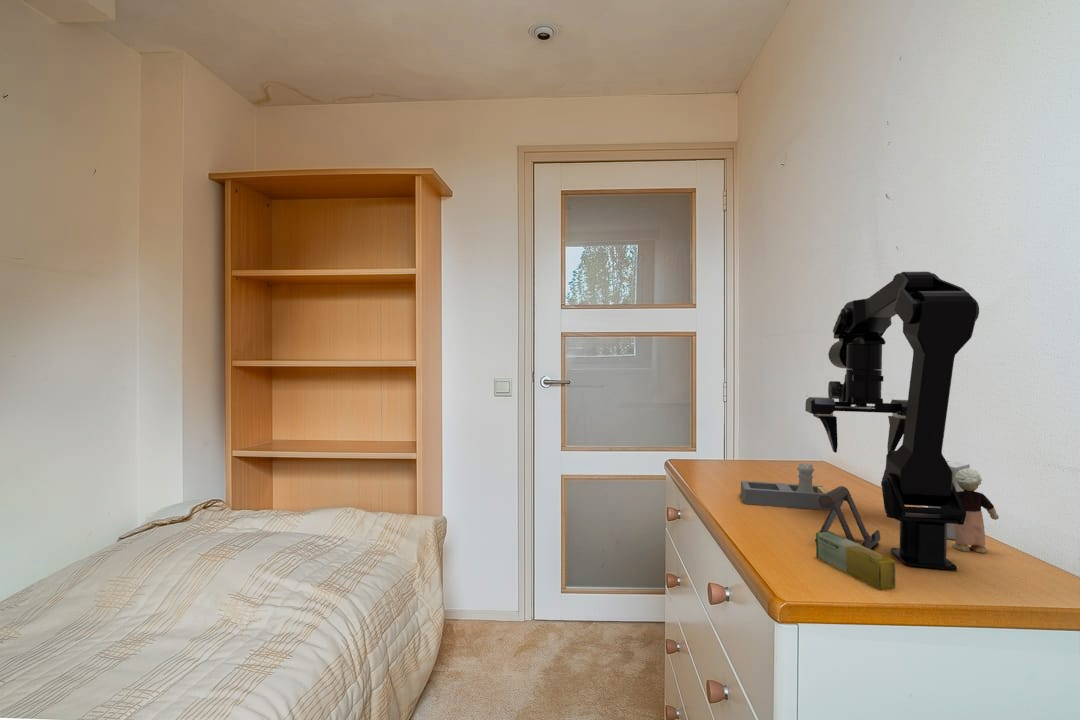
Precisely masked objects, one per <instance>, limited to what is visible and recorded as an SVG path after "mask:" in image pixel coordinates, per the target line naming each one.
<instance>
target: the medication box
mask: <svg viewBox="0 0 1080 720" xmlns="http://www.w3.org/2000/svg"><path fill="white" fill-rule="evenodd" d="M815 533H816V534H815V539H816V541H815V544H816V545H815V548H816V552H815V553H816V558H817V559H819V560H820V561H823V562H825V563H827V564H829V565H831V566H833V567H834V568H836V569H838V570H840V571H843V573H846V574H847V575H850V576H852V577H854V578H856V579H858V580H859V581H862V582H864V583H866V584H868V585H870V586H872V587H873V588H875V589H877V590H880V591H886V590H892V589H893V590H894V589H896V560H895V559H893V558H891V557H889V556H887V555H884V554H882V553H879V552H877V551H875V550H873V549H872V548H871V549H868V548H866V547H864V546H862V545H859V544H860V543H855V542H856V541H855V542H853V541H850V540H848V539H847V537H843V536H841V535H838V534H836V533H835V532H833V531H830V530H828V531H825V532H820V531H819V532H818V531H817V532H815Z"/></svg>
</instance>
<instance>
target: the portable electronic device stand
mask: <svg viewBox="0 0 1080 720" xmlns="http://www.w3.org/2000/svg"><path fill="white" fill-rule="evenodd" d="M844 502H847V504H848V506H849V508H850V511H851V513H852V516H853V518H854V520H855V523H856V524H857V527H858V529H859V531H860V534H861V536H862V538H863V540H862V541H861V542H860V543H857V541H856V540H855V538H854V536H853V534H852V531H851V529H850V527H849V525H848V522H847V520H846V518H845V514H844V513H843V511H842V510H843V509H842V508H841V507H842V506H843V503H844ZM819 504H820V506H821V507H822V508H825V509H830V510H829V513H828V514H827V517H826V518H825V520H824V523H823V525H822V526H821V529H820V530H819V532H825V531H830V529H831V526H832V524H833V522H834V520H836V519H835V518H838V520H839V523H840V525H841V528H842V530H843V533H844V536H845V538H846V539H848V540H850V541H853V542H855V543H857V544H859V545H862V546H864V547H866V548H868V549H871V550H872V548H873V547H874V546H875V545H877V544H878V543H879V542H880V541H881V533H880V530H879V529H877V530H876V531H874V532H873V533H872V534H871V535H870V534H869V532H868V531H867V529H866V527H865V524H864V523H863V520H862V517H861V515H860V512H858V511H859V510H858V509H857V507H856V503H855V501H854V499H853V498H852V494H851V493H850V490H849V489H848V488H847V487H845V486H837V487H835V488H833V489H831V490H830V491H828V493H826V494H824V495H822V496H820V497H819ZM836 516H837V517H836ZM814 541H815V542H816V538H815V540H814Z"/></svg>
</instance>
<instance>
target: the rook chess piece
mask: <svg viewBox="0 0 1080 720" xmlns="http://www.w3.org/2000/svg"><path fill="white" fill-rule="evenodd" d="M796 470H797V471H798V476H797V477H798V483H797V484H798V489H797V490H796V491H798V492H813V493H815V492H814V491H813V479H814V476H813V473H814V472H815V468H814V466H813V464H811V463H805V465H804V463H798V466H797V468H796Z"/></svg>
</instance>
